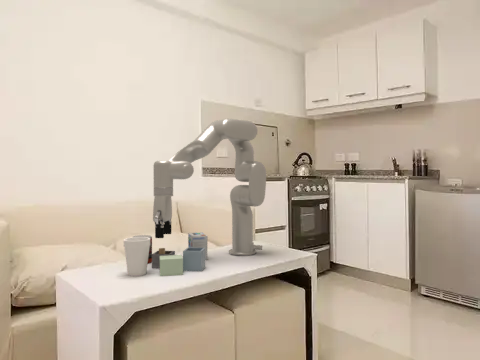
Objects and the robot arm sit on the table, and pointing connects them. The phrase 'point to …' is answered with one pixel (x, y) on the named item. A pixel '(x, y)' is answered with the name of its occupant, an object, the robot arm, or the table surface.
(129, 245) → the foam cup
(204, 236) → the light bulb box
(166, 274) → the pale green block
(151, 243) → the canned food
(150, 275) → the table surface
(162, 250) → the wooden dowel
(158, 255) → the metal tin
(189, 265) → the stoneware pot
